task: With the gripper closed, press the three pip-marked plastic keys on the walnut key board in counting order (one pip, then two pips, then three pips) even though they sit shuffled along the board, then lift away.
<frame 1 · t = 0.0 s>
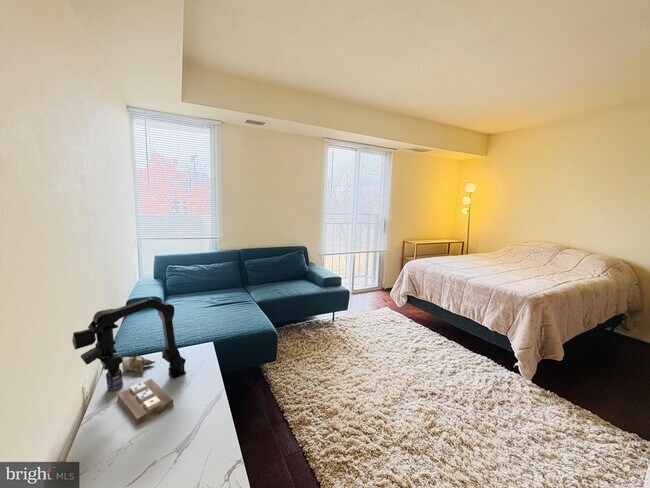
hand: (109, 373, 124), 15 cm above the table, fingers open, 9 cm apart
one pip button: (152, 404, 121), point 3 cm above the table, slide at 0.0 cm
pill bottle: (115, 388, 137), on the table
three pip button: (144, 396, 126), point 3 cm above the table, slide at 0.0 cm
key board: (145, 402, 127), on the table
ceramic sculpture: (136, 370, 152), on the table
two pip button: (138, 389, 131), point 3 cm above the table, slide at 0.0 cm
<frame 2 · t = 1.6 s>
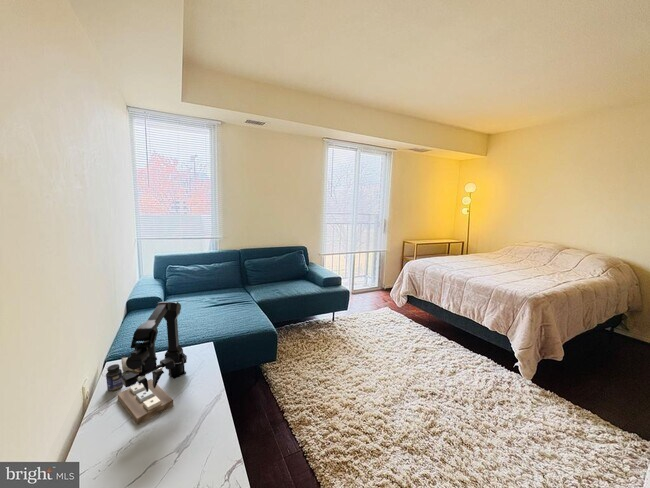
hand: (150, 389, 120), 10 cm above the table, fingers closed
nothing on the table moved.
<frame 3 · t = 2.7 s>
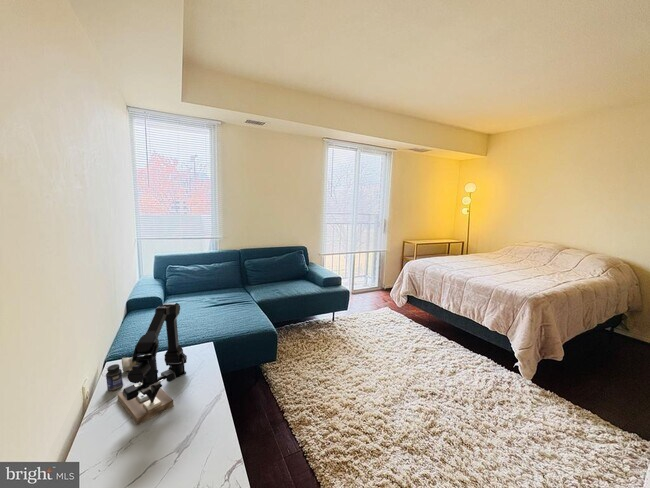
hand: (152, 401, 121), 4 cm above the table, fingers closed, pressing on one pip button
one pip button: (152, 405, 121), point 3 cm above the table, slide at 0.5 cm, touching gripper
everything else where it was.
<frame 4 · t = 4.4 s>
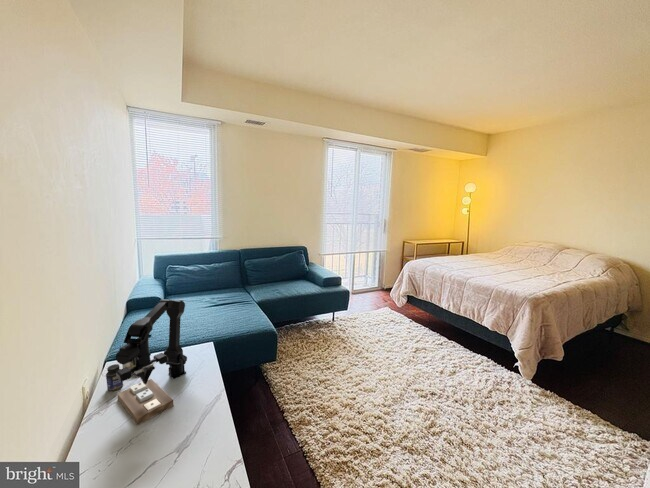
hand: (145, 383, 125), 10 cm above the table, fingers closed
one pip button: (152, 407, 121), point 2 cm above the table, slide at 1.3 cm
everything else where it was.
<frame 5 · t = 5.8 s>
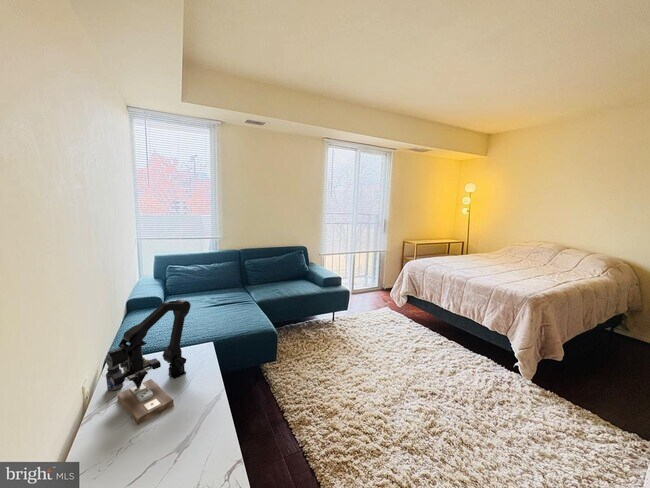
hand: (138, 387, 131), 4 cm above the table, fingers closed, pressing on two pip button
two pip button: (138, 390, 131), point 2 cm above the table, slide at 0.8 cm, touching gripper
everything else where it was.
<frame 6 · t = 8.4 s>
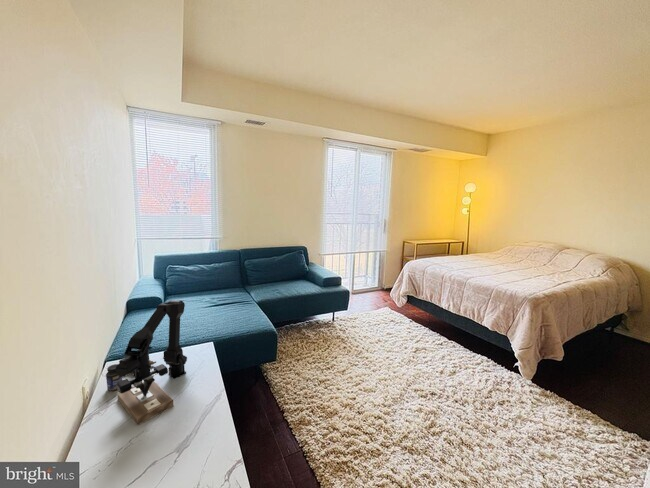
hand: (144, 395, 126), 4 cm above the table, fingers closed, pressing on three pip button
three pip button: (145, 398, 126), point 2 cm above the table, slide at 1.1 cm, touching gripper
two pip button: (138, 391, 131), point 2 cm above the table, slide at 1.3 cm
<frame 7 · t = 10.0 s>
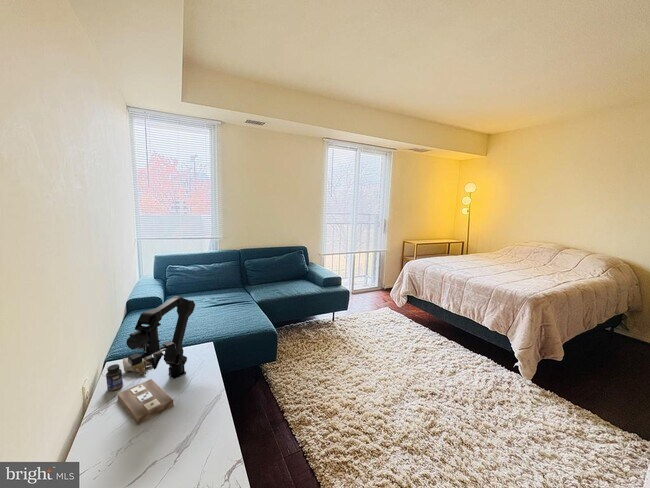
hand: (154, 369, 133), 12 cm above the table, fingers closed
three pip button: (145, 399, 126), point 2 cm above the table, slide at 1.3 cm
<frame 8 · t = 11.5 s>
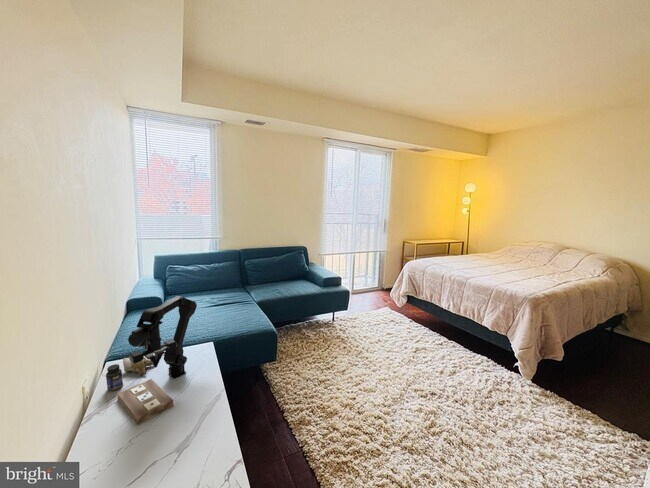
hand: (155, 367, 133), 12 cm above the table, fingers closed
at the end: one pip button slide at 1.3 cm; two pip button slide at 1.3 cm; three pip button slide at 1.3 cm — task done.
